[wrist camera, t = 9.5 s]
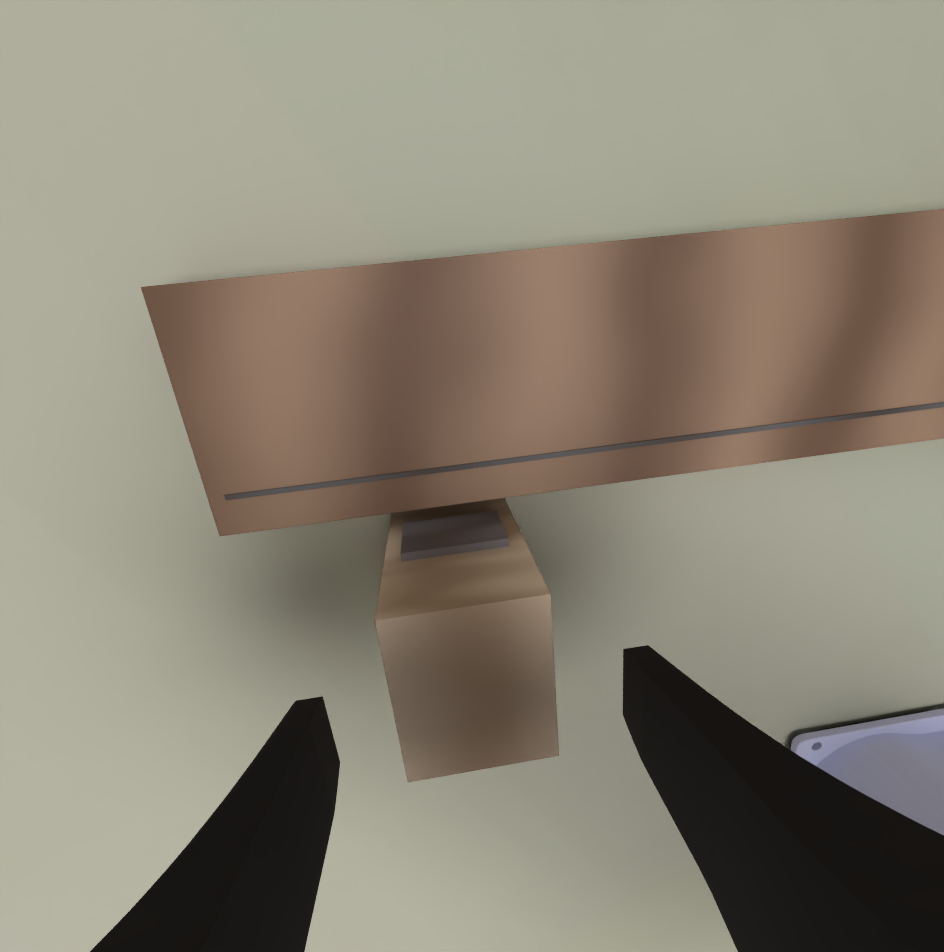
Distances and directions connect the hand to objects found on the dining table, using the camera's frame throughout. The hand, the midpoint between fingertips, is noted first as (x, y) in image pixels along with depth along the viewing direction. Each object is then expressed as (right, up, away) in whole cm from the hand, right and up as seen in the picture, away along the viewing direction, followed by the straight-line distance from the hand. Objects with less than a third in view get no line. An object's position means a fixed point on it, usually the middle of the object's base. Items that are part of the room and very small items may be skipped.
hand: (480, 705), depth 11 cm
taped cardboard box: (-1, +2, +6) cm, 7 cm away
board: (+5, +9, +5) cm, 12 cm away
